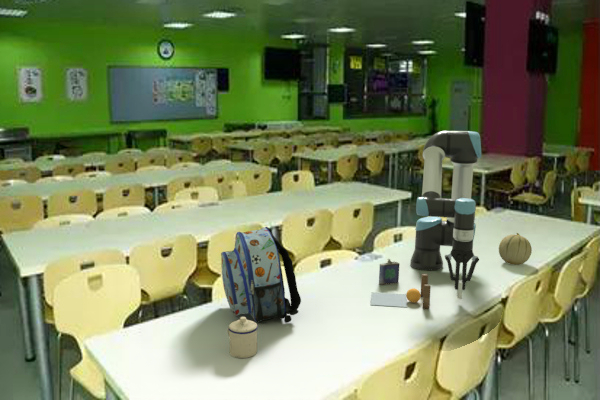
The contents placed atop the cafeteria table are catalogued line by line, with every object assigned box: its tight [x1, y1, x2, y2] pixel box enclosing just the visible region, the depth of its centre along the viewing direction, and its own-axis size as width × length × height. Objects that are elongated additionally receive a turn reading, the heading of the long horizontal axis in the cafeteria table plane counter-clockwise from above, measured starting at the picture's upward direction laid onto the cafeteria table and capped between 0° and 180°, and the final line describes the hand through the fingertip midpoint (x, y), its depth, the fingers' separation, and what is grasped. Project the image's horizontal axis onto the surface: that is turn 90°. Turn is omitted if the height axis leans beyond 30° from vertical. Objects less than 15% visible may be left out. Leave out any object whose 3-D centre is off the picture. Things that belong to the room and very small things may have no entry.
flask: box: [378, 258, 400, 286], centre depth 242 cm, size 9×3×11 cm, turn 109°
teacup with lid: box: [227, 316, 258, 359], centre depth 178 cm, size 12×9×12 cm
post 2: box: [422, 284, 431, 310], centre depth 215 cm, size 3×3×9 cm
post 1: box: [420, 273, 429, 298], centre depth 227 cm, size 3×3×9 cm
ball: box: [405, 287, 422, 303], centre depth 221 cm, size 6×6×6 cm
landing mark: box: [370, 291, 408, 308], centre depth 224 cm, size 14×14×1 cm
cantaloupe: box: [498, 232, 532, 266], centre depth 270 cm, size 15×15×15 cm
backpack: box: [220, 226, 302, 324], centre depth 208 cm, size 33×25×31 cm
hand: (459, 297), depth 219 cm, fingers closed
